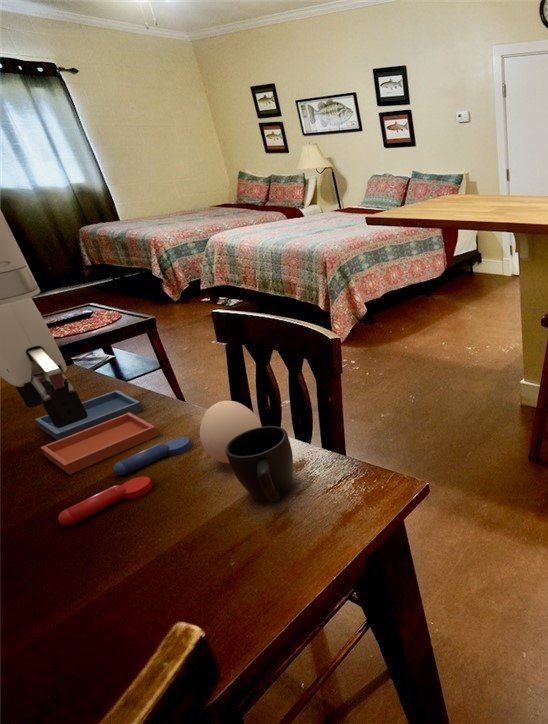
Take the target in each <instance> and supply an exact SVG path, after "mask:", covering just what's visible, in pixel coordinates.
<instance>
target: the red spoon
mask: <svg viewBox="0 0 548 724" xmlns="http://www.w3.org/2000/svg"><path fill="white" fill-rule="evenodd" d="M153 486H154V484H153V481H152V480H151V477H149V476H146V475H145V476H138V477H134V478H131V479H129V480H127V481H125V482H124V483H122V484H121V485H113V486H111V487H108V488H106V489H104V490H103V491H101V492H98V493H97V494H94V495H92V496H90V497H88V498H87V499H84V500H82V501H80V502H78V503H76V504H73V505H72V506H69V507H68V508H66V509H64V510H62V511H60V512H59V515H58V517H57V518H58V519H57V520H58V522H59V523H60V524H61V525H63V526H73V525H75V524H77V523H79V522H81V521H82V520H83V521H84V520H85V519H87V518H89V517H90V516H93V515H95V514H97V513H99V512H100V511H102V510H105V509H107V508H108V507H111V506H113V505H114V504H117V503H118V502H120V501H122V500H123V499H124V500H125V499H126V500H132V499H135V498H138V497H141V496H144V495H145V494H148V493H149V491H151V489H153Z"/></svg>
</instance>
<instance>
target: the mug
mask: <svg viewBox="0 0 548 724" xmlns="http://www.w3.org/2000/svg"><path fill="white" fill-rule="evenodd" d="M225 451H226V454H227V457H228V460H229V463H230V464H229V463H228V464H229V465H230V468H231V471H232V472H233V474H234V476H235V477H236V479H237V480H238V482H239V483H240V484H241V486H242V487H243V488H244V489H245V490H246V491H247V492H248V493H249V494H250V495H251V497H252V499H254V500H255V501H256V502H260V503H268V502H272V503H274V502H277V501H278V500H279V499H280V498H282V497H284V496H285V495H287V494H288V493H289V492H290V491H291V488H292V487H293V474H294V455H293V449H292V445H291V442H290V438H289V434H288V432H287V430H286V429H285V428H283V427H281V426H276V425H266V426H265V425H264V426H261V427H259V428H255V429H251V430H248V431H246V432H243V433H241V434H240V435H238V436H236V437H235V438H233V439H232V440H231V441H230V442H229V443H228V444H227V446H226V450H225Z"/></svg>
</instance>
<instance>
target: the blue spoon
mask: <svg viewBox="0 0 548 724" xmlns="http://www.w3.org/2000/svg"><path fill="white" fill-rule="evenodd" d="M191 448H192V442H191V439H190V438H189V437H187V436H180V437H175V438H172V439H170V440H168V441H166V442H165V443H157V444H154V445H153V446H150V447H148V448H146V449H144V450H142V451H140V452H137V453H135V454H133V455H131V456H129V457H127V458H125V459H122V460H120V461H118V462H116V463H115V464H114V465H113V469H112V470H113V473H114V474H115V475H117V476H120V477H121V476H126V475H128V474H132V473H133V472H135V471H137V470H139V469H141V468H143V467H145V466H147V465H149V464H151V463H154V462H155V461H158V460H160V459H162V458H164V457H166V456H177V455H181V454H183V453H185V452H187V451H188V450H189V449H191Z"/></svg>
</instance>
